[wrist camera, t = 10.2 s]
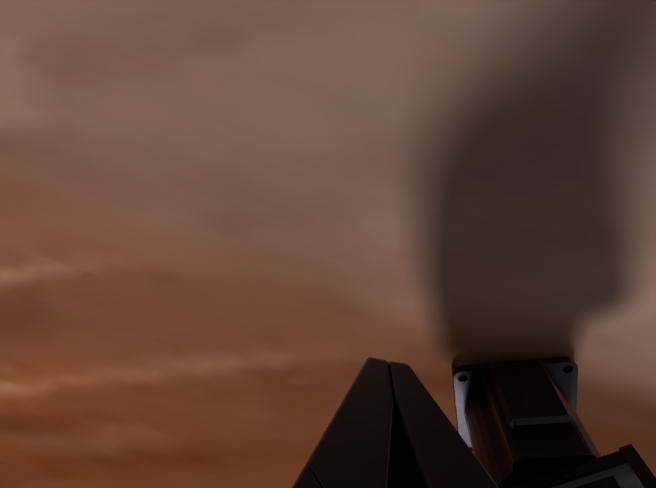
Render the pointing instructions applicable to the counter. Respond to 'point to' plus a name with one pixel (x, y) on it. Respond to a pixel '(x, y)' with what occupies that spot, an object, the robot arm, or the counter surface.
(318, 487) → the robot arm
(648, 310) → the counter surface
